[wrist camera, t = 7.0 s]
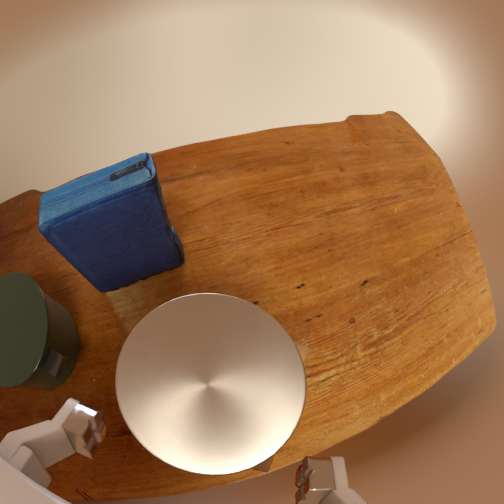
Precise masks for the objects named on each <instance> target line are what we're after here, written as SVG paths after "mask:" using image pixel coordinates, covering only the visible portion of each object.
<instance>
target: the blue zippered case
mask: <svg viewBox="0 0 504 504" xmlns="http://www.w3.org/2000/svg"><path fill="white" fill-rule="evenodd" d="M38 219H39V231H40V233H41V234H42V235H43V236H44V237H45V238H46V240H47V241H48V242H49V243H50V244H51V245H52V246H53V247H54V248H56V250H57V251H58V252H59V253H60V254H61V255H62V256H63V257H65V259H66V260H67V261H68V262H69V263H70V264H71V265H72V266H74V268H75V269H76V270H77V271H78V272H80V273H81V274H82V275H83V276H84V277H85V278H86V279H87V280H88V281H89V282H90V283H91V284H92V285H93V286H94V287H95V288H97V289H98V290H99V291H100V292H102V293H105V292H109V291H114V290H117V289H119V288H121V287H126V286H129V285H131V284H134V283H136V282H137V281H138V280H145V279H146V278H148V277H150V276H153V275H156V274H160V273H162V272H164V271H167V270H172V269H175V268H178V267H179V266H181V265H182V264H183V263H184V253H183V247H182V243H181V241H180V239H179V237H178V234H177V233H176V231H175V229H174V227H171V226H170V221H169V219H168V215H167V212H166V207H165V203H164V200H163V195H162V191H161V187H160V182H159V179H158V173H157V168H156V165H155V163H154V160H153V158H152V156H151V155H150V153H141V154H138V155H136V156H134V157H131V158H129V159H126V160H124V161H122V162H119V163H117V164H114V165H112V166H109V167H106V168H103V169H101V170H98V171H96V172H94V173H91V174H89V175H86V176H84V177H81V178H79V179H77V180H75V181H72V182H70V183H68V184H65V185H63V186H61V187H58V188H56V189H53V190H51V191H48V192H46V193H44V194H43V195H41V196H40V209H39V212H38Z"/></svg>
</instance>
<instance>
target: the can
mask: <svg viewBox="0 0 504 504" xmlns="http://www.w3.org/2000/svg"><path fill="white" fill-rule="evenodd" d="M115 387H116V396H117V401H118V405H119V408H120V411H121V414H122V417H123V419H124V421H125V423H126V424H127V426H128V428H129V430H130V431H131V433H132V434H133V435H134V437H135V438H136V439H137V440H138V442H139V443H140V444H141V445H142V446H143V447H144V448H145V449H146V450H147V451H149V452H150V453H151V454H152V455H153V456H155V457H156V458H158V459H159V460H161V461H163V462H164V463H166V464H168V465H170V466H172V467H175V468H177V469H180V470H183V471H186V472H189V473H194V474H200V475H213V476H217V475H229V474H233V473H238V472H242V471H245V470H248V469H250V468H253V467H255V466H257V465H259V464H261V463H263V462H265V461H266V460H267V459H269V458H270V457H272V456H273V455H274V454H276V453H277V452H278V451H279V450H280V449H281V448H282V447H283V446H284V445H285V444H286V442H287V441H288V440H289V439H290V437H291V436H292V434H293V433H294V431H295V429H296V427H297V426H298V424H299V421H300V419H301V416H302V414H303V410H304V406H305V401H306V391H307V386H306V374H305V369H304V364H303V361H302V358H301V355H300V353H299V351H298V348H297V346H296V344H295V342H294V341H293V339H292V338H291V336H290V335H289V333H288V332H287V331H286V330H285V329H284V327H283V326H282V325H281V324H280V323H279V322H278V321H277V320H276V319H275V318H274V317H273V316H271V315H270V314H269V313H267V312H266V311H264V310H263V309H262V308H260V307H258V306H256V305H254V304H252V303H250V302H248V301H245V300H243V299H240V298H237V297H233V296H230V295H224V294H217V293H200V294H191V295H187V296H182V297H179V298H176V299H173V300H170V301H168V302H166V303H164V304H162V305H160V306H158V307H157V308H155V309H154V310H152V311H151V312H149V313H148V314H147V315H146V316H145V317H144V318H142V319H141V320H140V321H139V323H138V324H137V325H136V326H135V327H134V328H133V330H132V331H131V333H130V334H129V336H128V337H127V339H126V341H125V343H124V345H123V347H122V349H121V352H120V355H119V358H118V362H117V367H116V376H115Z"/></svg>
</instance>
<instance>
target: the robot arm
mask: <svg viewBox="0 0 504 504" xmlns="http://www.w3.org/2000/svg"><path fill="white" fill-rule="evenodd" d="M103 417H104V416H103V413H102V411H99V410H97V409H95V408H92V407H90V406H88V405H85V404H83V403H81V402H79V401H77V400H75V399H73V398H70V399H68V400H67V401H66V402H65V404H64V405H63V406H62V407H61V409H60V410H59V411H58V413H57V414H56V415H55V417H54V418H53V419H52V420H51V421H50V420H47V421H44V422H41V423H38V424H35V425H31V426H28V427H25V428H22V429H19V430H16V431H12V432H9V433H8V434H7V435H6V436H5V438H4V439H3V440H2V441H1V443H0V504H71V503H69V502H68V501H66V500H64V499H62V498H60V497H59V496H57V495H55V494H54V493H52V492H50V491H49V490H47V487H48V485H49V484H50V482H51V480H52V478H51V476H50V474H49V473H48V472H47V471H46V469H45V468H47V467H49V466H51V465H53V464H55V463H57V462H59V461H61V460H63V459H65V458H67V457H68V456H70V455H72V454H74V453H76V452H77V453H80V454H82V455H84V456H86V457H88V458H90V459H93V457H94V456H95V454H96V452H97V450H98V445H97V444H98V443H100V442H102V441H103V440H104V438H105V435H106V431H107V426H106V423H105V422H104V421H103ZM295 485H296V486H297V487H298V488H299V489H298V490H297V492H296V493H295V498H296V504H368V503H367V502H365V500H363V498H361V497H360V496H359V495H358V494H357V493H356V492H355V491H354V490H353V489H349V485H348V479H347V474H346V467H345V462H344V458H343V457H314V456H306V457H304V459H303V464H302V465H300V466H299V467H298V469H297V472H296V477H295Z"/></svg>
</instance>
